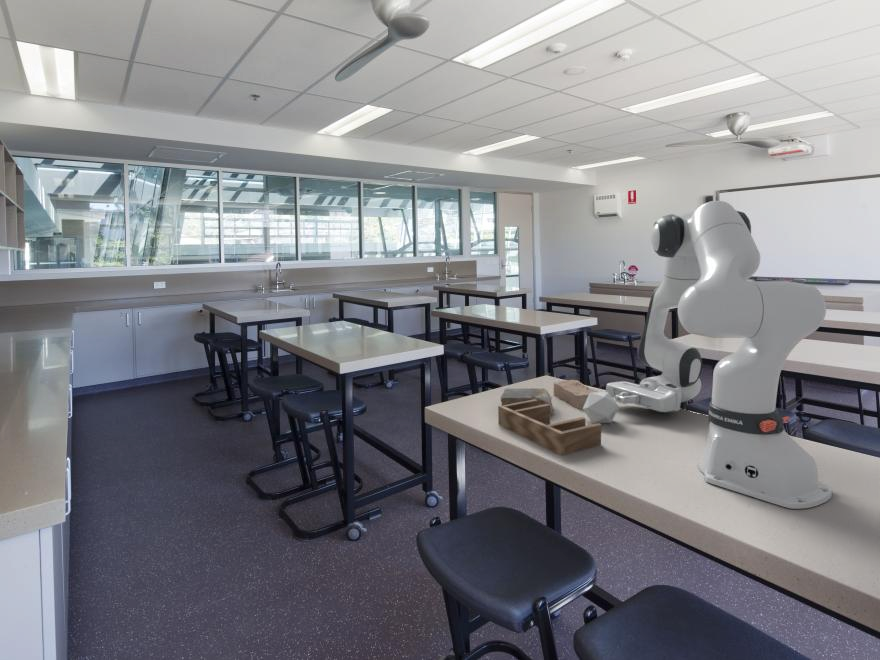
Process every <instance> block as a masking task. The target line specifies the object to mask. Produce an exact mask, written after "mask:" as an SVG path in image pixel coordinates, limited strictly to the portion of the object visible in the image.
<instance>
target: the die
mask: <svg viewBox="0 0 880 660" xmlns="http://www.w3.org/2000/svg"><path fill="white" fill-rule="evenodd" d="M619 408H620V407H619V405H618V402H616V401H615V398H613V397H612V396H611V395H610V394H609V392H606V391H602V392H600V391H598V392H594V393H589V395H588V398H587V400H586V402H585V404H584V407H583V409H582V410H583V412H584V413H585V415H586V416H587V418H588V420H589V421H590V422H591V423H592V424H596V423H599V424H612V423H613V420H614V418H615V417H616V414H617V412H618V410H619ZM592 424H591V425H592Z"/></svg>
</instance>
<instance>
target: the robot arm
mask: <svg viewBox="0 0 880 660" xmlns="http://www.w3.org/2000/svg"><path fill="white" fill-rule="evenodd" d="M650 238H651V239H650V241H651V244H652V247H653V250H654V252H655V254H657V256H660V257H663V258H665V259H664V267H663V278H662V281H661V283H660V285H659V286H657V287H656V288H655V289H654V290H653V292H652V293H651V297H650V301H649V304H648V308H647V312H646V313H647V314H646V318H645V322H644V326H643V332H642V336H641V337H640V340H639V344H638V346H637V349H636V350H637V356H638V360H639V362H640V363H641V365H643V366H645V367H648V368H649V367H650V368H652V369H654V370H659V371H661V374H659V375H657V376H656V375H655V376H649V377H646V378H644V379H642V380H641V381H640V382H639V384H638V383H633V382H629V381H614V382H608V383H606V386H605V392H609V394H610V395H611V396H612V398H613V399H614V400H615V402H616V403H619V404H623V405H626V404H633V405H637V406H640V407H642V408H646V409H648V410H649V409H650V410H653V411H656V412H659V413H668V412H679V411H680V410H681V403H684V402H687V401H690V400H691V399H693V398H695V397H696V396H697V395H698V394H699V393H700V391H701V389H702V382H701V378H700V376H701V373H702V371H703V360H702V359H703V358H702V356H701V352H700V351H699V350H698V349H697V348H695V347H692V346H690V345H687V344H684V343H681V342H678V341H675V340H673V339H671V338H668V337H667V336H666V335H665V333H664V331H665V328H666V322H667V318H668V315H669V312H670V309H672V308H677V316H678V317H677V318H678V321H679V322H680V325H681V326H682V327H683V329H684V330H686V332H688V334H691V335H695V336H701V337H707V338H712V339H713V338H714V339H735V338H736V339H743V342H742V344H741V345H740V347H739V348H738V349H737V350H735V352H733V353H731V354H729V355H727V356H724V357H723V358H722V359H720V360H719V361H718V362H717V363H716V364H715V366H714V369H713V370H712V371H713V373H712V374H713V375H712V392H711V401H709V405H708V414H707V415H708V417H707V418H708V419H707V420H708V425H709V426H708V432H707V438H706V444H705V447H704V451H703V454H702V457H701V460H700V462H699V463H698V464H699V465H698V467H699V468H698V469H700V471H701V473H702V474H704V480H705V482H706V483H708V484H711V485H715V486H718V487H721V488H725V489H726V490H729V491H733V492H737V493H740V494H742V495H746V496H748V497H753V498H756V499H759V500H761V501H765V502H768V503H771V504H774V505H777V506H780V507H784V508H787V509H792V510H793V509H794V510H797V509H798V510H800V509H801V510H802V509H808V508H813V507H816V506H819V505H822V504H824V503H826V502H828V501H829V500H830V499H831V498H832V496H833V488H832V487H831V486H830V485H828V484H827V483H824V482H822V481H820V480H819V474H818V472H819V471H818V465H817V462H816V460H815V458H814V457H813V455H811V454H810V453H809V452H808V451H806V450H805V449H804V448H803V446H801V445H800V444H799V443H797V441H796V440H794V439H793V438H792V437H791V436H790V435H789V434H788V433H787V432H786V431H785V430H784V429H785V428H784V424H785V423H789V422H790V420H789V419H790V415H788V416H784V417H782V415H781V414H780V413H779V411H778V409H777V407H776V404H777V395H778V387H779V382H780V381H779V380H780V375H781V373H782V369H783V366H784V364H785V362H786V360H787V358H788V357H789V355H790V354H791V352H793V350H794V349H795V348H796V346H797V345H798V344H799V343H800V342H801V341H803V340H804V339H805V338H807V337H808V336H810V335H811V334H812V333H814V332H816V331H817V330H818V329H819V328H820V327H821V325H822V324H823V323H824V320H825V318H826V315H827V314H826V313H827V304H826V300H825V298H824V296H823V293H822V292H821V291H820V290H819V289H818V288H817V287H816V286H814V285H811V284H807V283H801V282H795V281H788V280H773V281H772V280H765V281H764V280H763V281H756V280H755V281H751V280H749V279H750V278H752V277H753V276H754V275H755V273H756V272H758V271H757V270H758V269H759V267H760V264H761V254H760V251H759V248H758V247H757V244H756V243H755V241H754V237H753V236H752V225H751V221H750V218H749V217H748V216H747V214H746V213H744V212H743V211H739V210H737V209H735V208H734V207H733V205H731V204H730V203H728V202H727V201H723V200H711V201H708V202H706V203H705V202H704V203H703V204H701V205H700V206H698V207H697V208H696V209H695V210H694V211H688V212H683V213H677V214H673V213H671V214H666V215H663V216H661V217H659V218H658V219H657V220H656V221H655V222H654V223H653V228H652V229H651V235H650Z"/></svg>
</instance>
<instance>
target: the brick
mask: <svg viewBox="0 0 880 660" xmlns="http://www.w3.org/2000/svg"><path fill="white" fill-rule="evenodd" d="M594 392H599V391H597V390H595V389H592V388H590V387H588V386H587V385H585V384H583V383H582V382H580V381H579V380H577V379H568V380H563V381H557V382H556V381H554V382H553V395H554V396H555V397H556V398H558V399H560V400H562V401H563V402H565V403H567V404H568V405H571V406H572V407H574V408H577V409H579V410H583V407H584V404H585V402H586V400H587V398H588V395H589V393H594Z"/></svg>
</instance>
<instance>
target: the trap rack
mask: <svg viewBox="0 0 880 660" xmlns="http://www.w3.org/2000/svg"><path fill="white" fill-rule="evenodd" d="M497 411H498V413H497V414H498V423H497V424H498V425H499V426H502V427H504V428H505V429H507V430H509V431H511V432H513V433H516V434H517V435H520V437H521V436H522V437H523V438H526V439H528V440H529V441H532V442H533V443H535V444H538V445H540V446H541V447H544V448H546V449H548V450H549V451H552V452H554V453H555V454H558V455H560V456H563V455H567V454H572V453H576V452H578V451H583V450H585V449H590V448H594V447H598V446H601V445H602V423H594V424H587V425H586V420H587V419H586V418H585V417H577V418H571V419H568V420H564V421H559V422H555V423H551V415H550V405H549V404H544V405H539V406H538V400H536V399H533V400H528V401H523V402H518V403H513V404H507V405H502V404H501V405H498V410H497Z"/></svg>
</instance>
